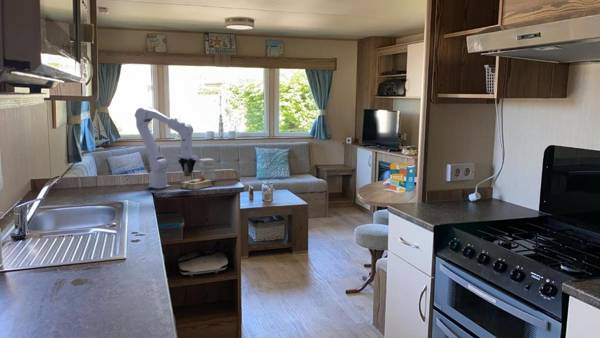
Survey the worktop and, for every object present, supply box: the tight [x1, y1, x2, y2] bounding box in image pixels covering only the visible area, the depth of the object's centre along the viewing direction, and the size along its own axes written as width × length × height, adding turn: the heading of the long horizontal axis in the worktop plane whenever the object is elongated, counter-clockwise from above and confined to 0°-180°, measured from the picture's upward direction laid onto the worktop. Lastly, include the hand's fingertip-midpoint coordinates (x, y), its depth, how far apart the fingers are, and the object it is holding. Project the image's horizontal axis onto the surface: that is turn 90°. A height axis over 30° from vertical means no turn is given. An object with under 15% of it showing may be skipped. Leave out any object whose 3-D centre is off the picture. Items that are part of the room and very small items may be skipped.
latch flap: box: [196, 174, 206, 180], centre depth 264 cm, size 3×4×1 cm
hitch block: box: [180, 178, 213, 191], centre depth 261 cm, size 10×13×3 cm
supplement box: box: [198, 157, 216, 182], centre depth 279 cm, size 7×7×13 cm
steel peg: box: [183, 162, 192, 177], centre depth 255 cm, size 4×4×7 cm
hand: (187, 172), depth 256 cm, fingers closed on steel peg, 4 cm apart
